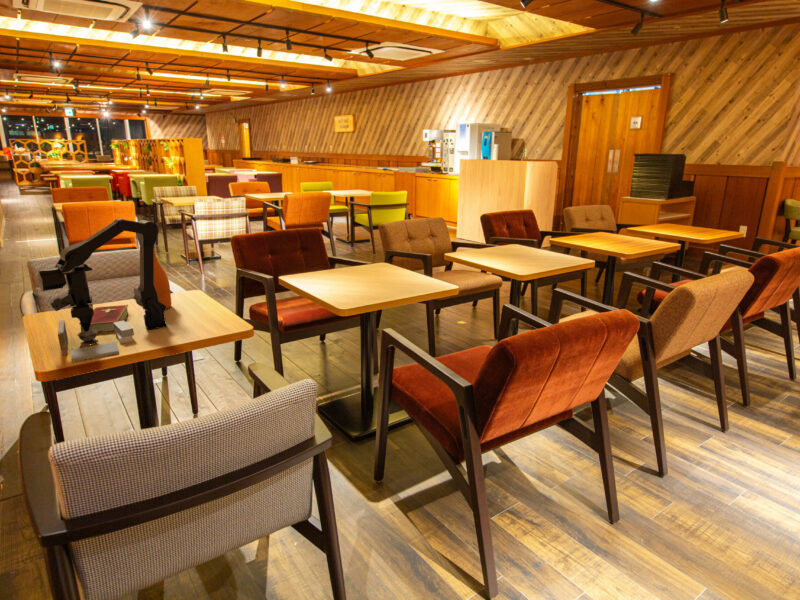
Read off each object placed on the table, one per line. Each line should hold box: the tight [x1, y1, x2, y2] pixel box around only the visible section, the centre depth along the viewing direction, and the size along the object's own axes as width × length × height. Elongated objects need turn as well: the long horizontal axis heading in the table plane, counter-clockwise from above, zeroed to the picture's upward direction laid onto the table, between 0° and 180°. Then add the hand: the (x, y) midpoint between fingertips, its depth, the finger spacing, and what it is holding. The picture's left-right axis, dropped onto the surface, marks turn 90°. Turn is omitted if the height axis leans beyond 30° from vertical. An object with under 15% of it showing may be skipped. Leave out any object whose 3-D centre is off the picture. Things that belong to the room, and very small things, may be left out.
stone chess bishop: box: [76, 322, 99, 346], centre depth 170 cm, size 6×6×12 cm
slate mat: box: [70, 341, 120, 363], centre depth 163 cm, size 13×9×1 cm
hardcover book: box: [91, 304, 129, 333], centre depth 190 cm, size 12×21×4 cm, turn 18°
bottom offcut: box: [114, 330, 134, 344], centre depth 177 cm, size 4×12×2 cm, turn 36°
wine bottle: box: [154, 244, 172, 310], centre depth 204 cm, size 10×10×30 cm
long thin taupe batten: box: [57, 319, 69, 356], centre depth 167 cm, size 2×16×7 cm, turn 32°
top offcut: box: [113, 320, 135, 337], centre depth 176 cm, size 4×11×2 cm, turn 43°
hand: (86, 329), depth 170 cm, fingers open, 5 cm apart
